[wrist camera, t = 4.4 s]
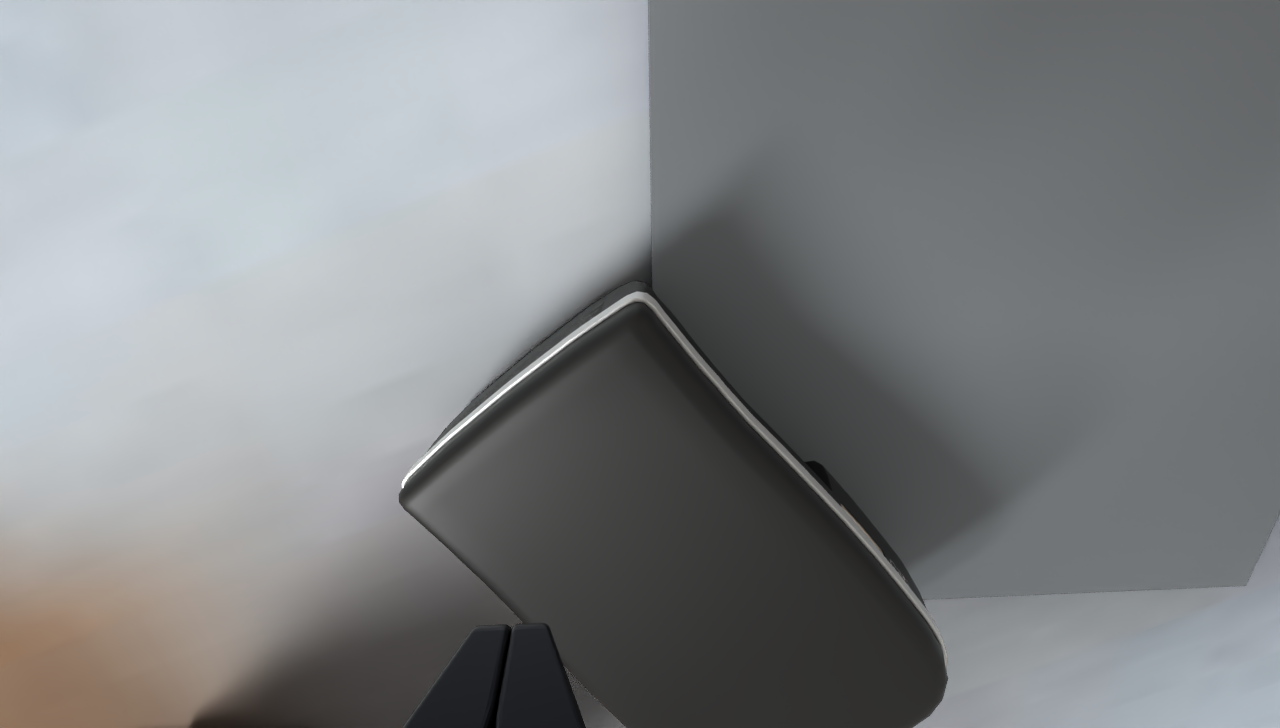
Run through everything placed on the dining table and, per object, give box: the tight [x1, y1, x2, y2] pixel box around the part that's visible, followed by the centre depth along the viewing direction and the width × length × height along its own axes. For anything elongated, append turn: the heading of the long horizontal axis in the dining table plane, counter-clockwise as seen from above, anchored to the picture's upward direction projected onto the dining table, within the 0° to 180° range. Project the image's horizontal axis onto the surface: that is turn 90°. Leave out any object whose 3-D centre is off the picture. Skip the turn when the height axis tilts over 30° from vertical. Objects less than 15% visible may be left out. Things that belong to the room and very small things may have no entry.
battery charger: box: [399, 281, 948, 728], centre depth 18 cm, size 7×4×11 cm
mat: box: [648, 0, 1280, 600], centre depth 18 cm, size 18×16×1 cm
